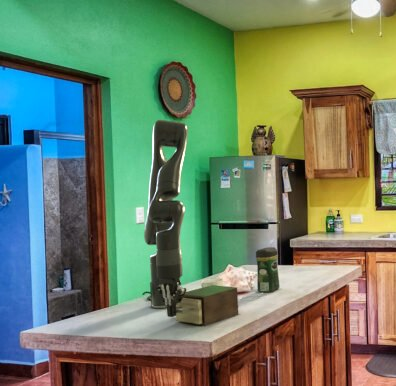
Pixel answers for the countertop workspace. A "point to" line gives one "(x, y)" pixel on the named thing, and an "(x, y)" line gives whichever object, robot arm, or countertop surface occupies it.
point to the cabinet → (216, 302)
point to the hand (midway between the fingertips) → (171, 316)
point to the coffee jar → (267, 269)
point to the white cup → (212, 282)
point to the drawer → (189, 310)
